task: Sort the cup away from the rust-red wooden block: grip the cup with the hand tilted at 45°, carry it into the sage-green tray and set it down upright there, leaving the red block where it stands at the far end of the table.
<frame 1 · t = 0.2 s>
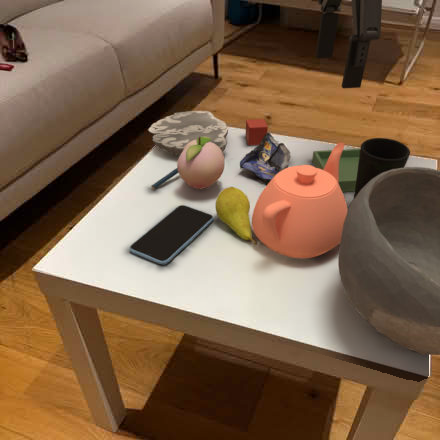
hand: (336, 71, 74), 21 cm above the table, tool pointing down, fingers open, 13 cm apart
snack package: (269, 170, 93), on the table
decorative fruit: (202, 188, 88), on the table
brain slice: (189, 144, 101), on the table, touching pencil
pencil: (152, 188, 87), on the table, touching brain slice
smartphone: (173, 235, 77), on the table
bowl: (395, 307, 64), point 1 cm above the table
green tray: (350, 174, 92), on the table
fruit: (226, 189, 79), point 4 cm above the table
teapot: (299, 234, 77), on the table
red block: (255, 140, 102), on the table
cup: (367, 212, 83), on the table
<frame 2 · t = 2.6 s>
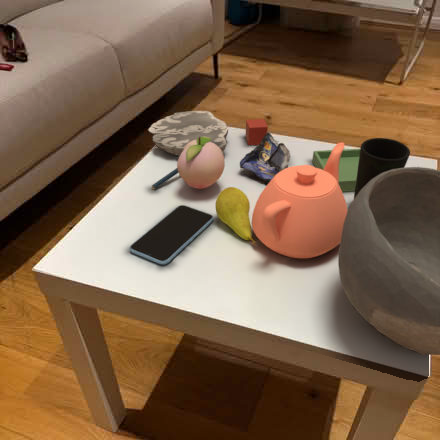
nothing on the table moved.
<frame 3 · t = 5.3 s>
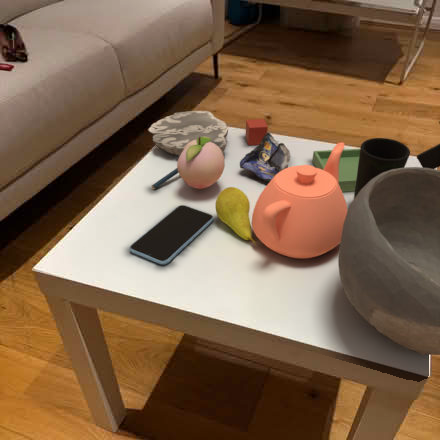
hand: (433, 145, 70), 14 cm above the table, tool tilted 45°, fingers open, 13 cm apart
nothing on the table moved.
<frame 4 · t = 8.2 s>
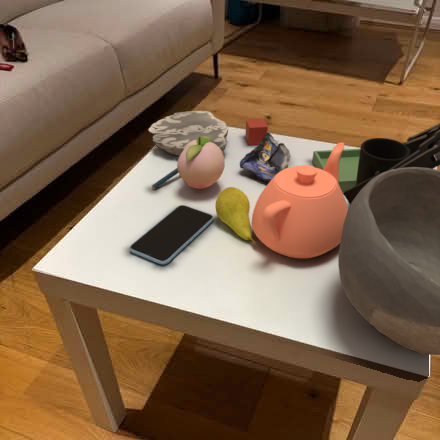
hand: (359, 185, 79), 5 cm above the table, tool tilted 45°, fingers open, 10 cm apart
teapot: (299, 234, 77), on the table, touching gripper
everything else where it was.
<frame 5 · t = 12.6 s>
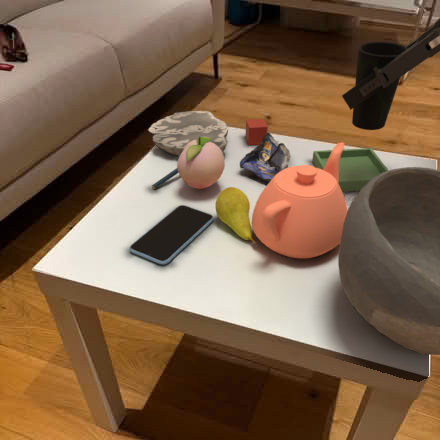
hand: (355, 93, 79), 16 cm above the table, tool tilted 45°, fingers closed on cup, 8 cm apart
teapot: (299, 234, 77), on the table
cup: (368, 124, 81), point 12 cm above the table, touching gripper
everything else where it was.
when the fingers open (5 cm above the table, at t = 16.5 s): cup stays where it is, resting on green tray.
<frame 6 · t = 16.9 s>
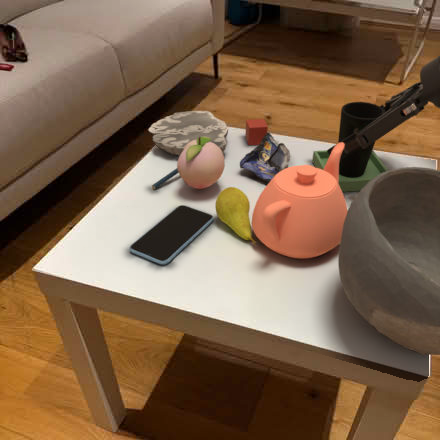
hand: (344, 142, 88), 6 cm above the table, tool tilted 45°, fingers open, 13 cm apart
cup: (349, 171, 91), point 1 cm above the table, touching green tray
everything else where it was.
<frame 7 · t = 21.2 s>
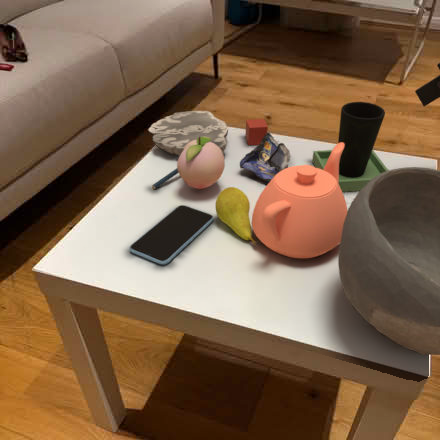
hand: (431, 84, 75), 19 cm above the table, tool tilted 45°, fingers open, 13 cm apart
nothing on the table moved.
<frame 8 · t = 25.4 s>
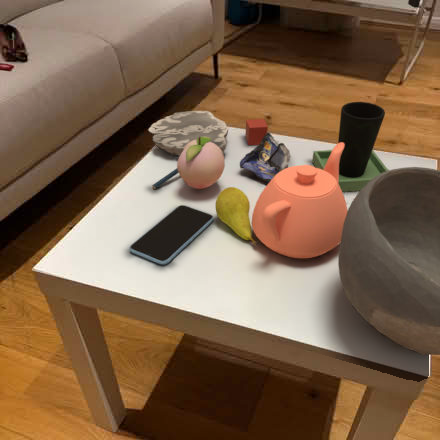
nothing on the table moved.
at the end: cup 0.2 cm off-centre in the green tray, point 0.6 cm above the green tray's base; cup tilted 0°; red block moved 0.0 cm from its start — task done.
